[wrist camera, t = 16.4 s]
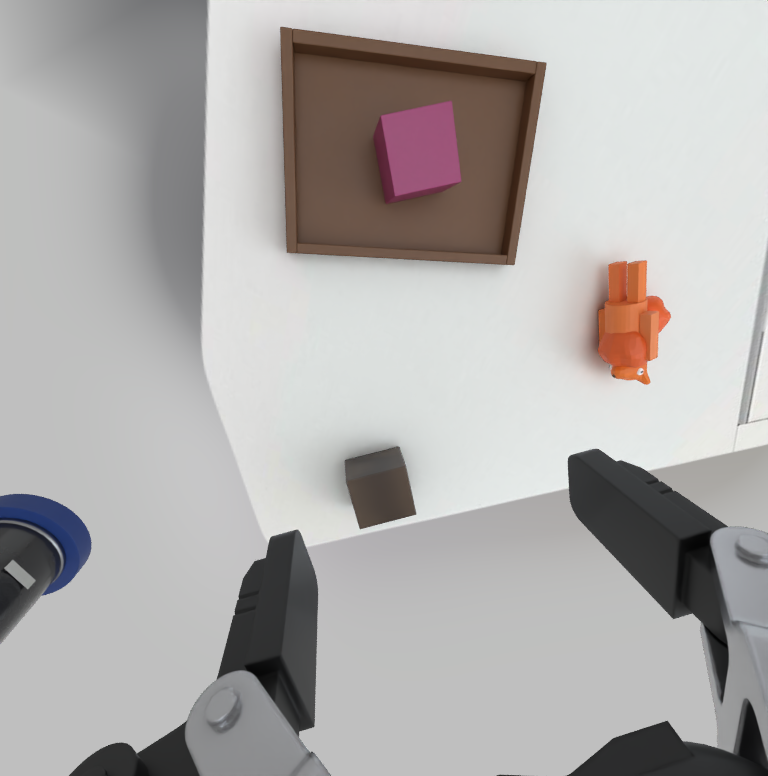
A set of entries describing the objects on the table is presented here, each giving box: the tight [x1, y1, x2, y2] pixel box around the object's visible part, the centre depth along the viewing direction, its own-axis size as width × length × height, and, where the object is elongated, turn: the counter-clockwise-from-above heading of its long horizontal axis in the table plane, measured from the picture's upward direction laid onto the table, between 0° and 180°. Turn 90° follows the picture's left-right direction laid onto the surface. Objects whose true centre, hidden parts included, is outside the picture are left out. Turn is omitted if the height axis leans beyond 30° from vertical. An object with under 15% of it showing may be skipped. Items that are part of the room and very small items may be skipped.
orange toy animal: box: [598, 261, 671, 385], centre depth 37 cm, size 5×8×12 cm
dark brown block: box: [345, 447, 416, 529], centre depth 40 cm, size 6×6×4 cm
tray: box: [280, 27, 546, 265], centre depth 31 cm, size 20×15×2 cm
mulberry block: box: [373, 101, 461, 204], centre depth 29 cm, size 5×5×5 cm
